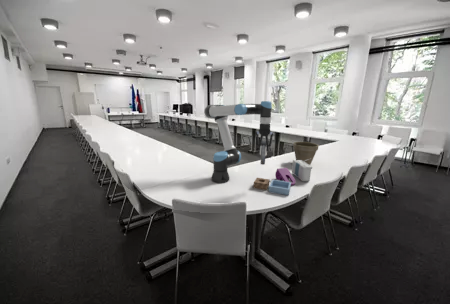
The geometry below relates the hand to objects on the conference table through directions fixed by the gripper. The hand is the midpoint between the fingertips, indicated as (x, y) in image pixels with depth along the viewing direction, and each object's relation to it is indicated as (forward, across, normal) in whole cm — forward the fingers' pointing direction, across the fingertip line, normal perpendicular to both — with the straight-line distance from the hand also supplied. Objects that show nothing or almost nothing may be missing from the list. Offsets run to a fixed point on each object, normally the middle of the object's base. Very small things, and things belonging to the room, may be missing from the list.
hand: (263, 154), depth 148 cm
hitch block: (+26, 0, 0) cm, 26 cm away
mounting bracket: (+26, +16, +19) cm, 36 cm away
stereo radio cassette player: (+26, +27, +34) cm, 51 cm away
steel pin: (+7, 0, 0) cm, 7 cm away
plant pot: (+26, +28, +80) cm, 89 cm away
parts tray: (+26, +14, 0) cm, 29 cm away
